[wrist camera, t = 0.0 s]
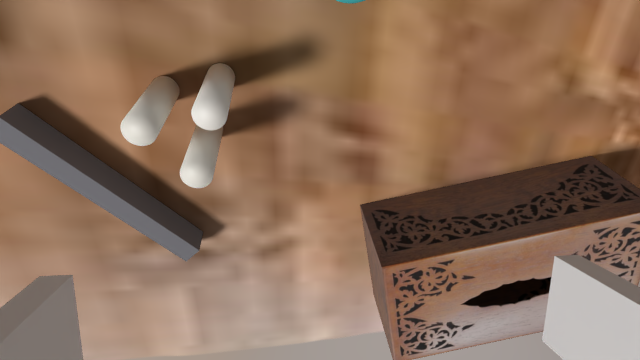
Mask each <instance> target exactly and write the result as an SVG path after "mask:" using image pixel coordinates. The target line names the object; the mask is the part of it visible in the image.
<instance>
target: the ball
mask: <svg viewBox="0 0 640 360" xmlns="http://www.w3.org/2000/svg"><path fill="white" fill-rule="evenodd" d="M337 1H339V2H343V3H358V2H362V1H365V0H337Z"/></svg>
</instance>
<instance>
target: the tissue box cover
mask: <svg viewBox="0 0 640 360" xmlns="http://www.w3.org/2000/svg"><path fill="white" fill-rule="evenodd" d="M360 207H361V214H362V221H363V227H364V234H365V240H366V247H367V253H368V260H369V267H370V273H371V280H372V286H373V293H374V297H375V301H376V304H377V307H378V311H379V314H380V317H381V321H382V324H383V328H384V331H385V334H386V337H387V341H388V344H389V348H390V351H391V354H392V358H393V360H412V359H416V358H421V357H426V356H430V355H435V354H439V353H444V352H449V351H453V350H458V349H463V348H468V347H472V346H477V345H481V344H486V343H491V342H496V341H501V340H505V339H510V338H514V337H519V336H524V335H529V334H533V333H538V332H543V331H544V324H545V317H546V311H547V304H548V297H549V290H550V284H551V277H552V270H553V263H554V257H555V256H564V255H580V256H582V257H584V258H585V259H587V260H589V261H591V262H593V263H595V264H597V265H599V266H600V267H602V268H604V269H606V270H608V271H610V272H612V273H614V274H615V275H617V276H619V277H621V278H623V279H625V280H627V281H629V282H631V283H632V284H634V285H636V286H638V283H639V280H640V189H639V188H637V187H636V186H634V185H633V184H631V183H630V182H629V181H627V180H626V179H624V178H623V177H621V176H620V175H618V174H617V173H615V172H614V171H613V170H611V169H610V168H608V167H607V166H605V165H604V164H602V163H601V162H600V161H598V160H597V159H595V158H594V157H592V156H588V157H583V158H579V159H574V160H569V161H564V162H560V163H555V164H550V165H546V166H541V167H536V168H531V169H527V170H522V171H517V172H513V173H508V174H503V175H499V176H494V177H489V178H484V179H480V180H475V181H470V182H466V183H461V184H456V185H451V186H447V187H442V188H437V189H433V190H428V191H423V192H418V193H414V194H409V195H404V196H400V197H395V198H390V199H385V200H381V201H376V202H371V203H367V204H362V205H360Z"/></svg>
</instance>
